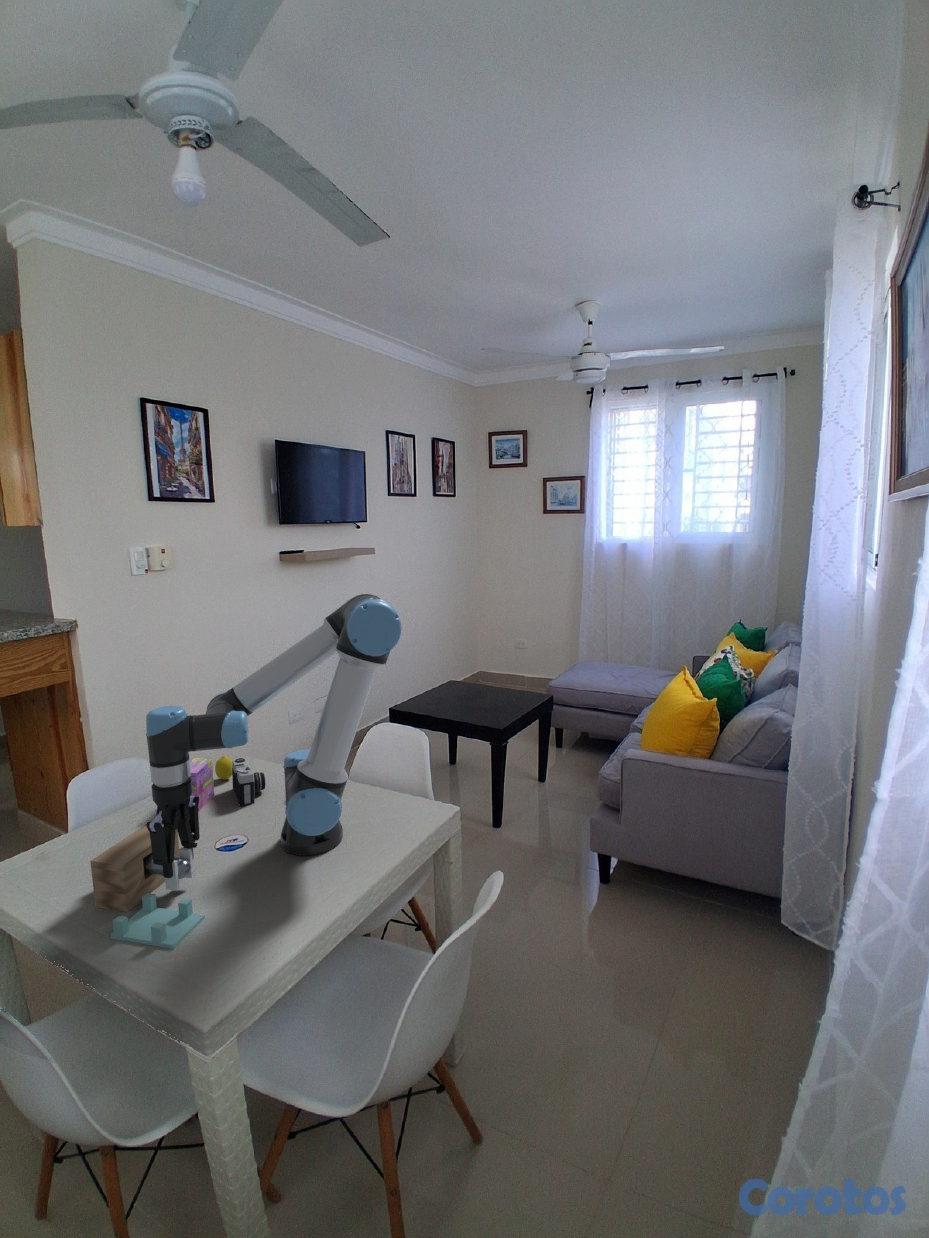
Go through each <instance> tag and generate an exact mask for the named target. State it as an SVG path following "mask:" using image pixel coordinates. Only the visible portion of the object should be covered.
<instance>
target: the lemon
mask: <svg viewBox="0 0 929 1238" xmlns="http://www.w3.org/2000/svg"><path fill="white" fill-rule="evenodd" d="M232 760H233V759H232V758H230V757H229V756H225V755H223V756H221V757H220V758H218V760H217V761H216V763H215V766H214V772H215V775H216V777H218V778H219V779H220V780H223V781H227V780H228V779H230V778H231V777H232Z"/></svg>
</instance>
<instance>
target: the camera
mask: <svg viewBox="0 0 929 1238" xmlns="http://www.w3.org/2000/svg"><path fill="white" fill-rule="evenodd" d="M231 760H232V776H231V777H232V790H233V792H234V795H235V798H236V800H237V802H238V804H239V807H241V808H242V807H245V806H250V805H254V804H255V796H256V795H255V794H257V793H258V792H261V791H264V790H265V789H266V776H265V773H264V772H259V771H258V772H254V771H253V769H252V767H251V765H250V763H249V761H248V760H247V758H246V757H240V758H239V757H238V758H236V759H235V758H234V759H231Z"/></svg>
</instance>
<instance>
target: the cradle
mask: <svg viewBox="0 0 929 1238" xmlns="http://www.w3.org/2000/svg"><path fill="white" fill-rule="evenodd" d="M141 902H142V903H141V904H142V908H140V909H139V910H138V911H137V912H136V913H135V914H134V915H132V916H131V917H130V918H128V917H127V916H123V915H122V916H121V915H118V916H117V917H115V918H114V919H112V929H113V932H111V934H110V939H112V940H119V941H124V942H131V943H136V944H141V945H147V946H154V947H161V948H166V949H170V950H171V949H172V950H175V949H176V948H177V947H178V946H179V945H180V944H181V943H182V942H183V941H184V940H185V939H186V938H187V937H188V936H189V935H190V934H191V933H192V932H193V931H194V930H195V929H196V928H197V927H198V926H199V925H200V924H201V923H202V922H203V921H204V920H205V919H206V916H205V914H201V913H194V912H193V900H192V899H191V898H190V899H189V898H185V897H184V898H181V899H180V900H179V901H178V902H177V905H178V906H177V907H178V910H174V909H167V908H161V907H157V896H156V893H146V894H145V895H144V896H143V897H142V901H141Z"/></svg>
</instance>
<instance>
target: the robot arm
mask: <svg viewBox="0 0 929 1238" xmlns="http://www.w3.org/2000/svg"><path fill="white" fill-rule="evenodd" d="M401 635H402V623H401V619H400V617H399V614H398V611H397V610H396V609H395V608H394V607H393V605H392V604H390V603H388V602H387V601H385V600H383V599H382V598H380V597H379V596H378V595H374V594H371V593H361V594H359V595H355V596H353V597H352V598H350V599H348V600H347V601H346V602H345V603H343V604H342V605H341V606H339V607H338V608H336V609H335V610H334V611H333V612H332V613H330V614H329V615H328V616H326V617H325V618H323V624H322V625H320V626H319V627H318V628H316V629H315V630H314V631H312V632H311V633H309V634H308V635H306V636H305V637H303V638H302V639H301V640H298V642H296V643H294V644H293V645H291V646H290V647H289V648H287V649H286V650H284V651H283V652H281V653H280V654H279V655H277V656H276V657H274V658H273V659H271V660H270V661H269V662H267V663H266V664H264V665H263V666H261V667H260V668H258V669H257V670H255V671H254V672H253V673H251V674H250V675H248V676H247V677H245V678H244V679H242V680H241V681H240V682H238V683H236V684H235V685H234V686H232V688H230V689H228V690H227V691H225V692H220V693H218V694H216V695H215V696H214V697H213V698H212V699H210V701H209V703H208V704H207V707H206V711H205V713H204V714H197V715H193V714H191V715H190V714H189V715H188V713H187V712H186V709H185V707H183V706H181V705H165V706H159V707H157V708H156V707H155V708H153V709H152V710H150V711H149V712H148V713H147V715H146V717H145V722H146V724H145V725H146V733H145V736H146V742H147V750H148V759H149V761H148V762H149V768H150V770H149V771H150V779H151V783H152V784H151V794H152V795H151V797H152V801H153V802H154V804H155V805H156V806H157V807H156V812H155V815H156V816H155V818H154V819H153V820H151V821H149V820H148V821H147V823H146V824H145V825H146V827H147V829H148V830H149V832H150V840H151V848H152V856H153V863H154V864H156V865H162V866H163V876H164V878H165V882H164V883H165V889H166V890H168V891H175V892H177V891H179V890H180V879H179V877H178V865H177V860H174V849H175V832H176V830H177V831H178V839H179V841H180V845H181V846H182V847H179V857H180V858H182V859H186V860H188V861H189V862H190V863H191V872H190V873H189V875H188V876H187V877H185V878H187V879H193V878H194V877H195V869H194V856H195V855H194V849H196V848H197V847H198V843H197V842H198V841H199V840H200V838H201V837H200V836H201V835H200V821H199V820H200V817H199V812H198V804H199V797H198V796H191V794H192V783H191V778H190V776H191V768H190V761H191V760H190V759H191V758H190V752H201V751H209V750H219V749H221V750H222V749H232V748H236V747H243V746H245V745H246V744H248V741H249V722H248V720H249V719H248V717H249V716H250V715H251V714H253V713H254V712H255V711H257V710H258V709H259V708H261V707H262V706H264V705H265V704H267V703H268V702H270V701H271V700H273V699H274V698H276V697H277V696H278V695H279V694H281V693H282V692H284V691H285V690H286V689H289V687H291V686H293V685H294V684H295V683H297V682H298V681H300V680H301V679H302V678H304V677H305V676H307V675H308V674H310V673H311V672H313V671H314V670H315V669H317V668H318V667H320V666H321V665H322V664H324V663H325V662H326V661H328V660H330V659H331V658H333V657H334V656H335V655H338V657H339V660H338V662H337V666H336V670H335V672H334V676H333V678H332V680H331V681H332V682H331V684H330V688H329V691H328V693H327V697H326V700H325V701H324V705H323V709H322V712H321V715H320V718H319V721H318V724H317V727H316V730H315V733H314V736H313V740H312V742H311V745H310V748H305V749H300V750H296V751H293V752H290V753H289V754H287V755H286V756H285V757H284V758H283V769H284V787H285V790H284V791H285V818H284V821H283V826H282V829H281V832H280V846H281V848H282V849H283V851H284V852H286V853H289V854H292V855H296V856H314V855H319V854H323V853H326V852H328V851H331V850H332V849H334V848H335V846H336V845H337V846H338V845H339V844H340V843H341V842H342V840H343V838H344V832H343V831H344V829H343V825H342V823H341V820H340V818H341V816H342V811H343V810H342V809H343V803H342V797H343V794H344V791H345V788H346V785H347V782H348V779H349V775H348V773H347V772H346V769H345V767H346V764H347V760H348V757H349V754H350V752H351V749H352V746H353V742H354V740H355V736H356V734H357V730H358V728H359V725H360V722H361V718H362V716H363V713H364V709H365V706H366V703H367V701H368V698H369V694H370V691H371V690H372V689H371V688H372V686H373V683H374V679H375V676H376V673H377V670H379V669H380V668H382V667H384V666H386V664H387V663H388V659H389V656H390V653H391V651H392V650H393V649H394V648H395V647H396V646H397V644H398V642H399V640H400V638H401ZM196 841H197V842H196ZM339 842H340V843H339ZM337 846H336V847H337Z"/></svg>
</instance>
